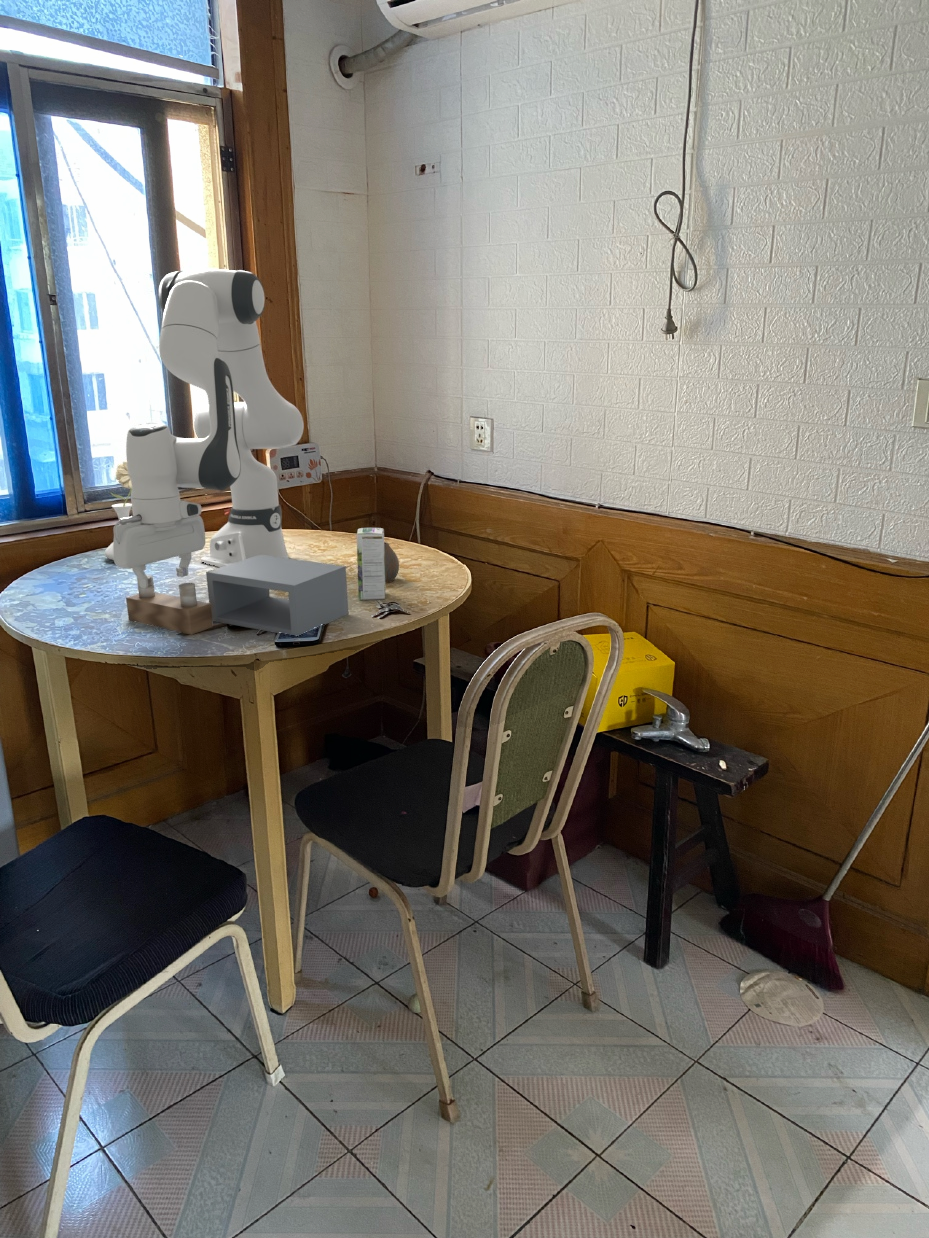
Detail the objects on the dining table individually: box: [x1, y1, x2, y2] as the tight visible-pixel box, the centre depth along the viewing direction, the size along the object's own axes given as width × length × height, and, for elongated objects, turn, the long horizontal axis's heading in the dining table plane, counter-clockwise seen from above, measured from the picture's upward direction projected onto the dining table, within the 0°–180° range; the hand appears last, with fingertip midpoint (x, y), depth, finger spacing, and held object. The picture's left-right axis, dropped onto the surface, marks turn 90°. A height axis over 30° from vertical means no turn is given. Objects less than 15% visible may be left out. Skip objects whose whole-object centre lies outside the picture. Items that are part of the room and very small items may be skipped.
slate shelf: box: [205, 555, 349, 637], centre depth 182 cm, size 22×16×10 cm
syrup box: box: [356, 527, 386, 601], centre depth 195 cm, size 6×6×14 cm
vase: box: [384, 541, 400, 583], centre depth 208 cm, size 7×7×9 cm
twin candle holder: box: [125, 574, 214, 635], centre depth 180 cm, size 18×6×9 cm, turn 58°
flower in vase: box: [103, 460, 132, 561], centre depth 230 cm, size 13×11×25 cm
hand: (164, 581), depth 178 cm, fingers open, 8 cm apart
